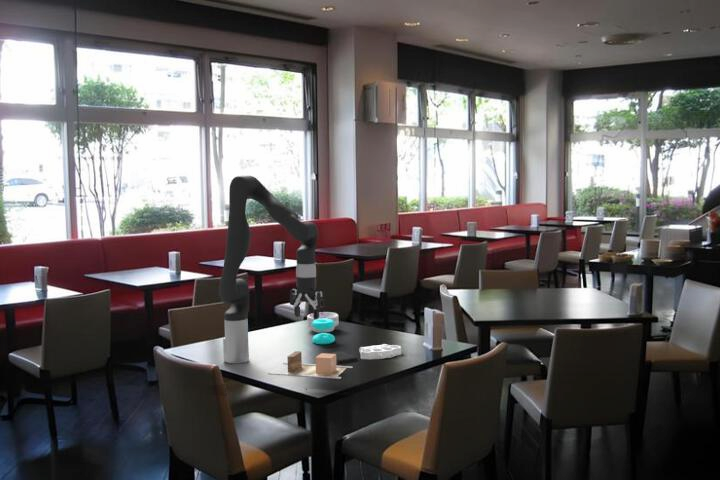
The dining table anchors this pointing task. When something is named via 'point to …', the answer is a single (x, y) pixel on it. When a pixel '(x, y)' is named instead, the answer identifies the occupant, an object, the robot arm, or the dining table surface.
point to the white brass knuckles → (379, 351)
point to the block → (326, 363)
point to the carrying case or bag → (344, 357)
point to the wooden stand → (298, 368)
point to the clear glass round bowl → (323, 316)
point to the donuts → (322, 325)
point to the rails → (310, 375)
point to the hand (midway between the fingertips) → (306, 317)
